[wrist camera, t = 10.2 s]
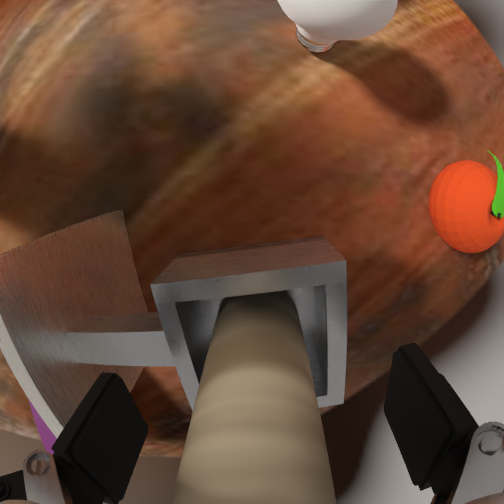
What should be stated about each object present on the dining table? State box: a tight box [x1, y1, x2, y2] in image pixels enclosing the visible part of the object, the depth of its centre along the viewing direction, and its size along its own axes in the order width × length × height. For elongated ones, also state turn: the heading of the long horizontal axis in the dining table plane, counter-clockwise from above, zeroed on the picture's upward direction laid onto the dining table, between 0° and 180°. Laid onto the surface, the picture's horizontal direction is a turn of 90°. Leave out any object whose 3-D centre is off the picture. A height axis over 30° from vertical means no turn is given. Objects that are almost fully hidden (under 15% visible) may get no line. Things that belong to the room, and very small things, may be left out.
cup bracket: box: [0, 210, 347, 438], centre depth 15 cm, size 12×15×14 cm
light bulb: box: [277, 0, 398, 53], centre depth 12 cm, size 7×7×11 cm
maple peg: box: [172, 291, 336, 504], centre depth 8 cm, size 4×4×12 cm
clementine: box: [429, 151, 504, 253], centre depth 16 cm, size 8×7×7 cm
